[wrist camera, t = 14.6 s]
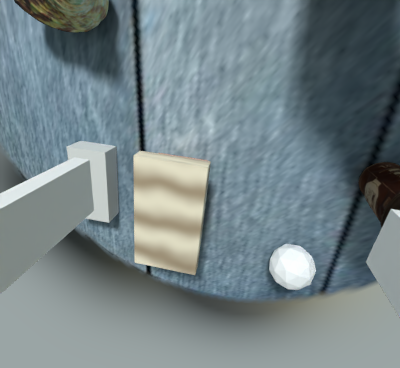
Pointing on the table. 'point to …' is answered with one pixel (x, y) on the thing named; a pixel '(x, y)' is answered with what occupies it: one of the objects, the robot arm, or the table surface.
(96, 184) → the rubber block
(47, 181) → the robot arm
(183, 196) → the board
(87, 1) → the seashell
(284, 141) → the table surface
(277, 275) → the geometric ball
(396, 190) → the coffee cup
